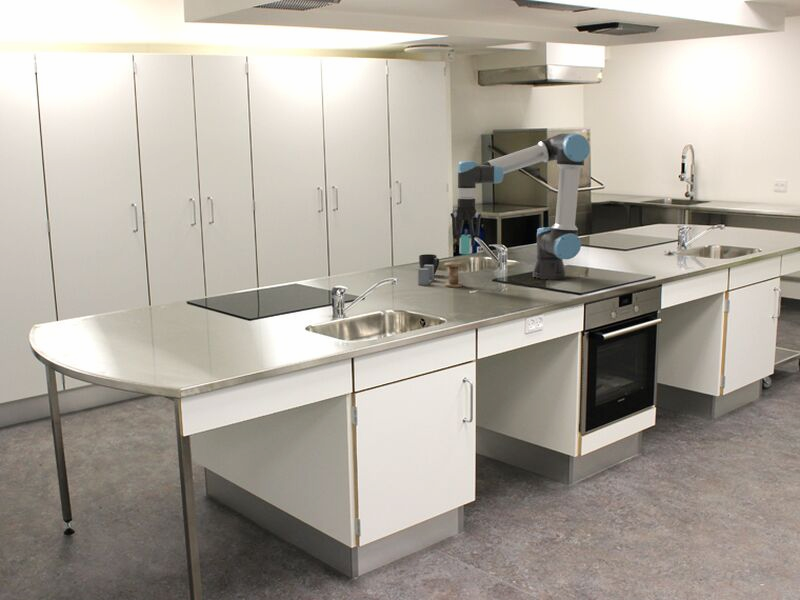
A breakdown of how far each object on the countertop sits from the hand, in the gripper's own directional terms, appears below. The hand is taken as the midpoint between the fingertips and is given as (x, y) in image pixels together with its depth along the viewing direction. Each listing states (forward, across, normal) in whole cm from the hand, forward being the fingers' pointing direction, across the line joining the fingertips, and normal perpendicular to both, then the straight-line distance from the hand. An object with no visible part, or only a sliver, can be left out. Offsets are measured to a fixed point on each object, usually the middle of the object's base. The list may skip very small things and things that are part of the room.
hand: (465, 252), depth 374 cm
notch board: (+16, +20, -13) cm, 29 cm away
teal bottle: (0, 0, 0) cm, 0 cm away
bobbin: (+16, +6, -6) cm, 18 cm away
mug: (+16, +22, -30) cm, 41 cm away
